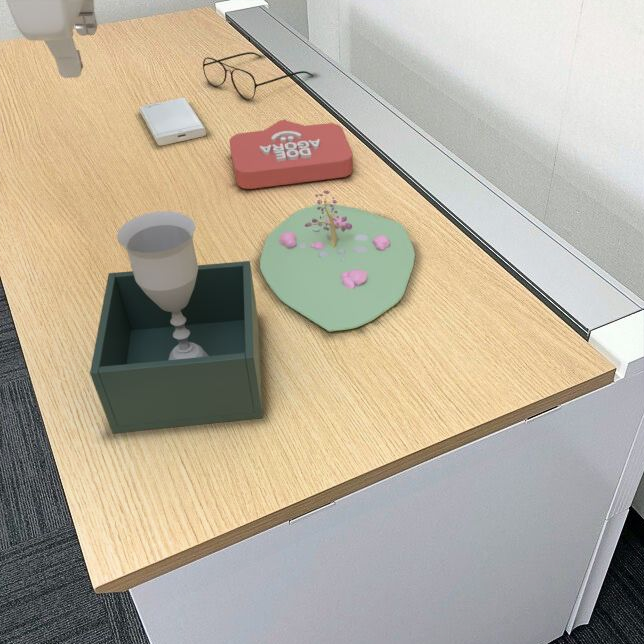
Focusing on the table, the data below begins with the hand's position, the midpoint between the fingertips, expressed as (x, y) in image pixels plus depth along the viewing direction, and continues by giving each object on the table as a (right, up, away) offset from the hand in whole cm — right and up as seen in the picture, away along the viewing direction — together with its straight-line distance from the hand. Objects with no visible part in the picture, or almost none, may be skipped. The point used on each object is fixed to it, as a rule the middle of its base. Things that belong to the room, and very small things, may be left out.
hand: (80, 52), depth 67 cm
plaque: (+15, +2, +49) cm, 51 cm away
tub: (+7, -30, +15) cm, 34 cm away
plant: (+24, -16, +29) cm, 41 cm away
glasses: (+8, +23, +71) cm, 75 cm away
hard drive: (-5, +11, +58) cm, 59 cm away
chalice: (+7, -29, +15) cm, 33 cm away
